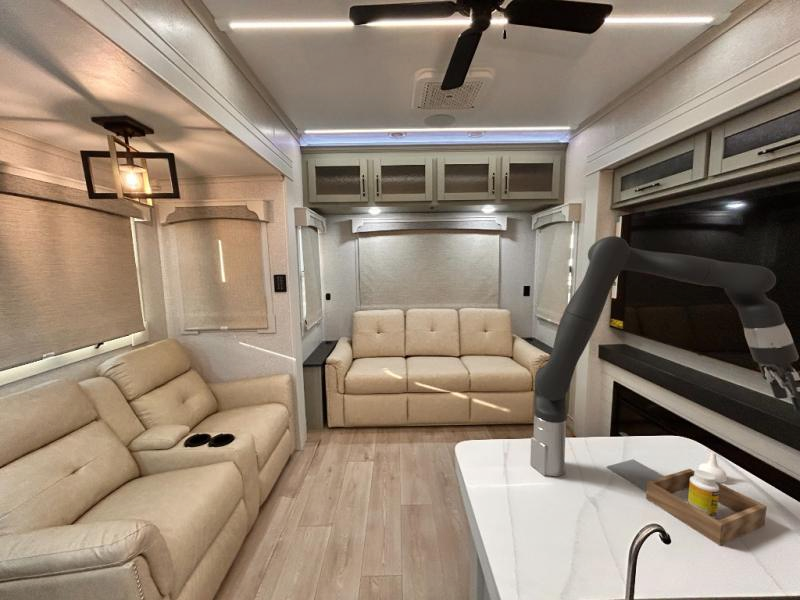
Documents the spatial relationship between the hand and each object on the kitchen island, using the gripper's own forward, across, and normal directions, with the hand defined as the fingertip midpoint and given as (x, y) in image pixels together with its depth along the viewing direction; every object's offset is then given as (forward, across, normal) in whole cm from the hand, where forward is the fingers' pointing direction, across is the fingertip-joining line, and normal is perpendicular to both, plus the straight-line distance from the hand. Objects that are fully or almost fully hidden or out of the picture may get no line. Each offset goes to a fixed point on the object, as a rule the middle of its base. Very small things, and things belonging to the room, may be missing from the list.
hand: (791, 404), depth 78 cm
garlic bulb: (+26, -12, -18) cm, 34 cm away
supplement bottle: (+23, +8, -26) cm, 35 cm away
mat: (+20, -3, -37) cm, 42 cm away
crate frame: (+23, +8, -25) cm, 35 cm away
